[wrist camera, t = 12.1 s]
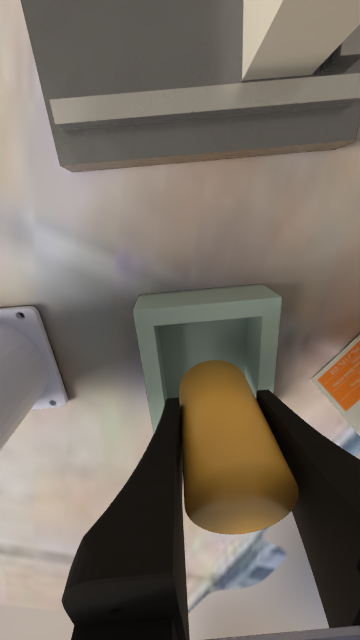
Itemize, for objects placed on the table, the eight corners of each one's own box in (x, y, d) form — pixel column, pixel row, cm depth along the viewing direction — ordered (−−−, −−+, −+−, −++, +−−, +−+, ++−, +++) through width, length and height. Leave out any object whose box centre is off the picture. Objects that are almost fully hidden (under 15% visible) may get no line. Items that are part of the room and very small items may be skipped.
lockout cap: (181, 418, 15) (188, 538, 9) (176, 363, 13) (180, 468, 7) (245, 412, 15) (292, 529, 9) (248, 356, 13) (305, 457, 7)
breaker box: (72, 172, 12) (47, 159, 10) (1, -148, 9) (-69, -300, 6) (335, 149, 12) (376, 131, 10) (383, -179, 9) (469, -343, 6)
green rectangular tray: (157, 413, 19) (155, 444, 16) (139, 294, 15) (132, 310, 12) (255, 404, 19) (269, 433, 16) (262, 283, 15) (282, 297, 12)
